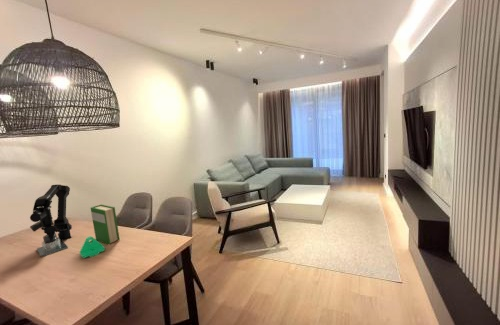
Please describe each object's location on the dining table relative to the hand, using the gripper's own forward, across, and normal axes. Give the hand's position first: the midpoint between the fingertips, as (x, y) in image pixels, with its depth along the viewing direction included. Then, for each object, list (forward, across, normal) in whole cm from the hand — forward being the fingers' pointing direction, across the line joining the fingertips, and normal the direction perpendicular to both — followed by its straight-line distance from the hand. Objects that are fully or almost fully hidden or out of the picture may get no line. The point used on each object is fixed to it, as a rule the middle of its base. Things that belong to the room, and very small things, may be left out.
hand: (50, 238), depth 163 cm
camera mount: (+8, +33, +15) cm, 37 cm away
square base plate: (+7, 0, 0) cm, 7 cm away
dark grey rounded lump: (+3, 0, 0) cm, 3 cm away
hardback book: (+7, +19, +28) cm, 35 cm away
